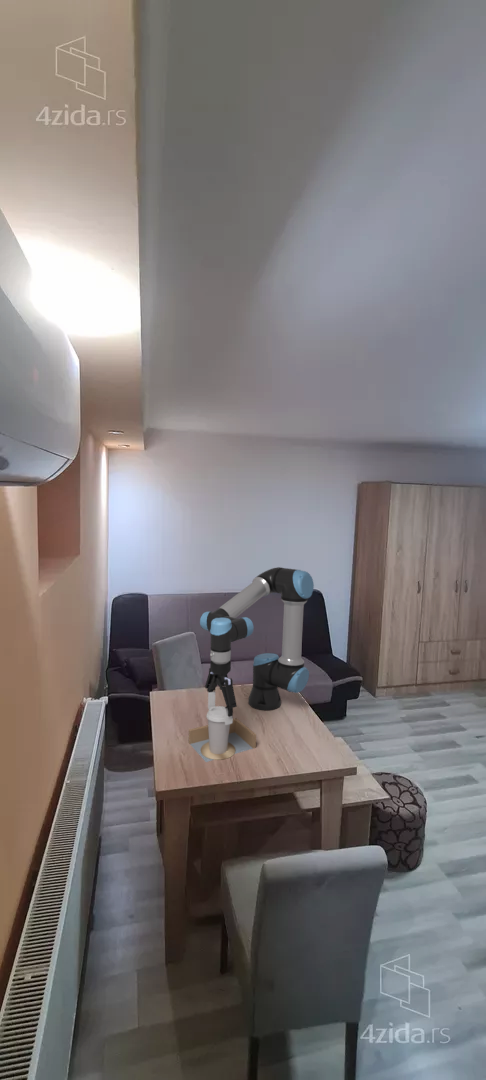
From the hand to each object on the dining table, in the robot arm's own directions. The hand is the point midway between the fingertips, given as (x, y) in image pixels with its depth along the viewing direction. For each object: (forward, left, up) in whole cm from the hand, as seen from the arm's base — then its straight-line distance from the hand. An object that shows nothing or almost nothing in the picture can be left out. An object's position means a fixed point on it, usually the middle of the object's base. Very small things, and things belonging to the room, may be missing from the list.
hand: (219, 715), depth 172 cm
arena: (-3, -2, -14) cm, 14 cm away
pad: (0, 0, -13) cm, 13 cm away
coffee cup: (0, 0, -13) cm, 13 cm away
